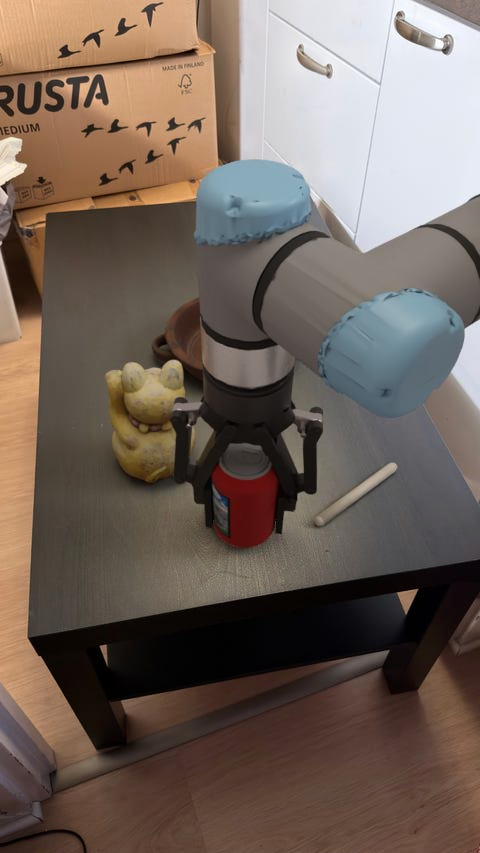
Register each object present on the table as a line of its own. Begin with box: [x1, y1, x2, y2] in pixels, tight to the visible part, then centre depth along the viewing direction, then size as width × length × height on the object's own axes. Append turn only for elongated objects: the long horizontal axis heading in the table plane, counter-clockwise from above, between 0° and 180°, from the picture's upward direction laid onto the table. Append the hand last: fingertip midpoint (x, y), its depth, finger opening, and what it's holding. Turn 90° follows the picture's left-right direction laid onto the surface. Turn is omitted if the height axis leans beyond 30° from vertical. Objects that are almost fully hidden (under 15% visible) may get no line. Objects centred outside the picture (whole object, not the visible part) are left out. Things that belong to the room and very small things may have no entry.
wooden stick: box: [314, 461, 398, 527], centre depth 72 cm, size 1×13×1 cm, turn 130°
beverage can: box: [212, 443, 279, 549], centre depth 64 cm, size 7×7×12 cm
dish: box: [151, 296, 203, 382], centre depth 86 cm, size 18×22×5 cm
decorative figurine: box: [104, 360, 197, 483], centre depth 69 cm, size 10×8×15 cm
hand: (244, 520), depth 68 cm, fingers closed on beverage can, 7 cm apart
